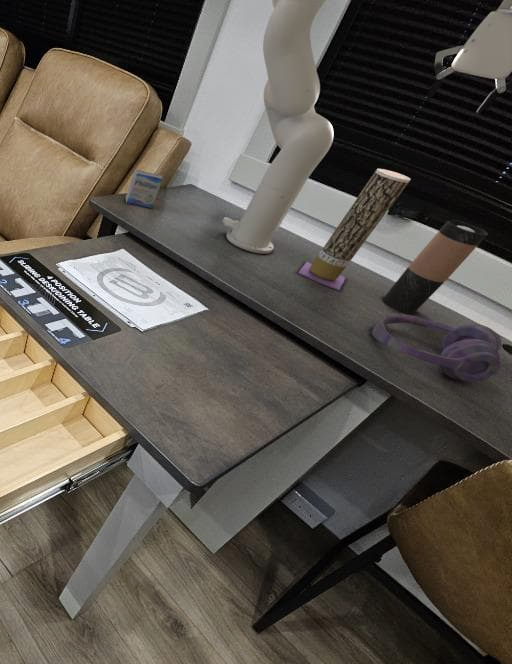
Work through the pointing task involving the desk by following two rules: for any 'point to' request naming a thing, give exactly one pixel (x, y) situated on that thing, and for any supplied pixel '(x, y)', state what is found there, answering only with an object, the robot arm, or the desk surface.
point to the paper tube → (359, 223)
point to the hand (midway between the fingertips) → (452, 106)
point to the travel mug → (434, 265)
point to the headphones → (450, 347)
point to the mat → (333, 284)
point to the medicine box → (143, 188)
